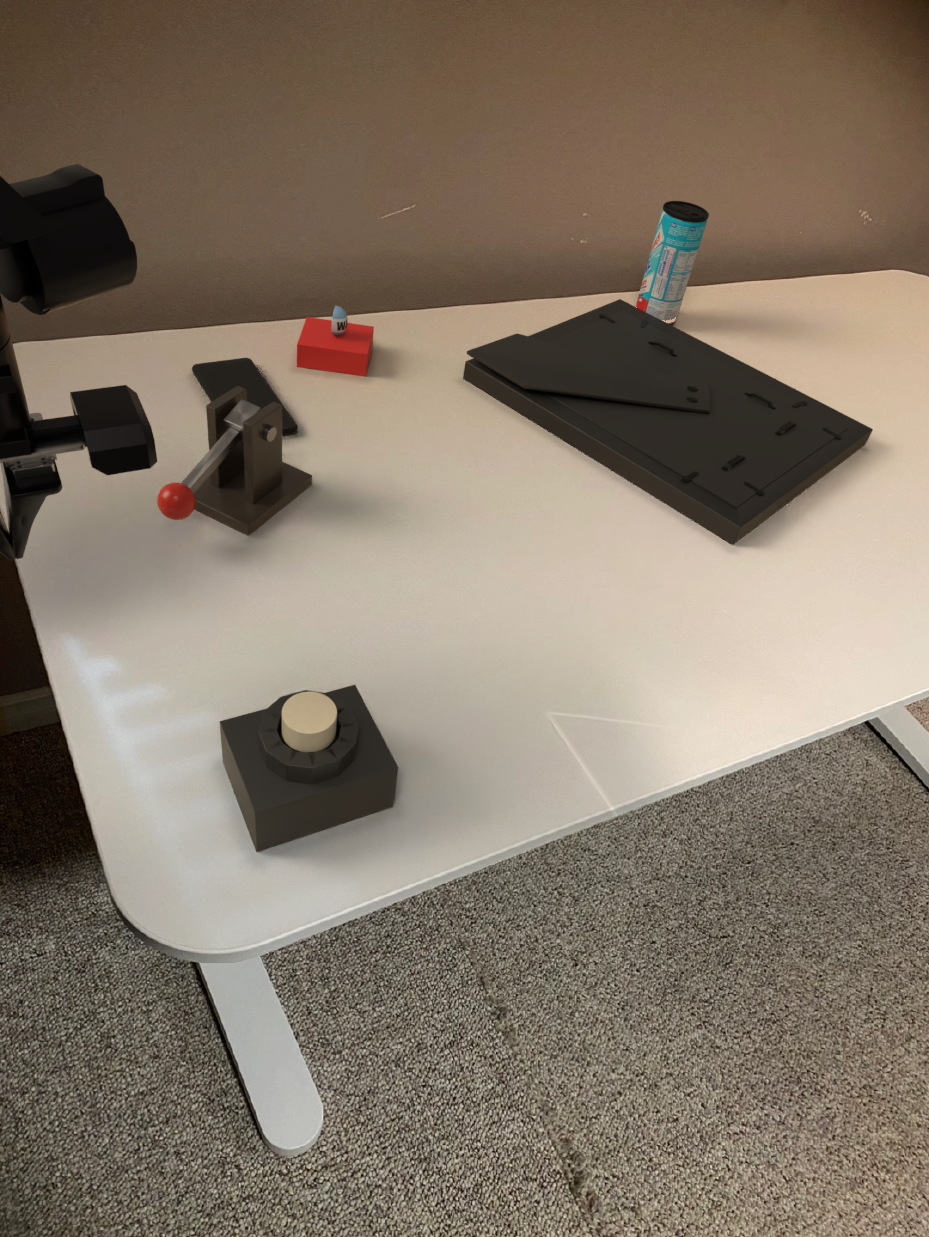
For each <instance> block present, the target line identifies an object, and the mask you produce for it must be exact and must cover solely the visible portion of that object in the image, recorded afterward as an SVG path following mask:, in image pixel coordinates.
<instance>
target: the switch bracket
mask: <svg viewBox="0 0 929 1237" xmlns="http://www.w3.org/2000/svg"><path fill="white" fill-rule="evenodd" d="M241 399H242V400H245V401H247V398H246V389H244V388H242V387H239V386H237V387H235V388H233V389H232V390H230V391H228V392H227V393H225V394H224V395H222V396H220V397H219V398H217V399H216V400H214V401H212V402H211V401H210V402H209V403H208V404H206V405H205V408H206V410H205V412H206V424H207V438H208V439H207V440H208V451H209V450H210V449H211V448H212V447H213V446H214V445H215V444H216V442H217V441H218V440H219V439H220V438H221V437H222V436H223V434H224V433H225V432H226V431H227V428H226V426H225V423H224V418H225V417H226V416H227V415H228V414H229V413H230V411H231V410H232V409H233V408H234V407H235V406H236V405H237V404H238V402H239V401H240V400H241ZM243 440H244V443H242V442H239V443H238V444H237V445H236V446H235V447H234V449H233V450H232V451H231V452H230V453H229V454H228V455H227V457H226V458H225V459H224V460H223V461H222V462H221V464H220V465H219V466H218V467H217V468H216V469H215V471H214V472H213V473H212V474H211V475H210V476H209V477H208V479H207V480H206V481H205V482H204V483H203V484H202V486H201V487H200V488H199V489H198V490H197V491H196V493H195V494H194V495H195V498H196V505H195V509H194V511H196V512H199V513H201V514H203V515H205V516H207V517H209V518H211V519H213V520H215V521H217V522H219V523H221V524H223V525H225V526H227V527H229V528H232V529H233V530H235V531H238V532H239V533H242V534H243V535H246V536H250V535H251V534H252V533H254V532H255V531H257V530H258V529H259V528H260V527H262V525H264V524H265V523H266V522H268V521H269V520H270V519H271V518H272V517H274V516H275V515H277V514H278V513H279V512H280V511H281V510H283V509H284V508H285V507H286V506H287V505H289V504H290V503H291V502H292V501H294V500H295V499H296V498H298V497H299V496H300V495H301V494H302V493H304V492H305V491H306V490H307V489H309V488H310V487H311V486H312V485H313V475H312V474H310V473H309V472H306V471H304V470H302V469H300V468H297V467H296V466H293V465H291V464H289V463H286V462H285V461H283V435H282V405H280V404H278V403H276V402H272V403H270V404H269V405H267V406H266V407H264V408H263V409H261V410H260V411H258V412H257V413H255V414H254V415H253V416H251V417H250V418H248V419H247V420H245V421H244V422H243Z"/></svg>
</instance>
